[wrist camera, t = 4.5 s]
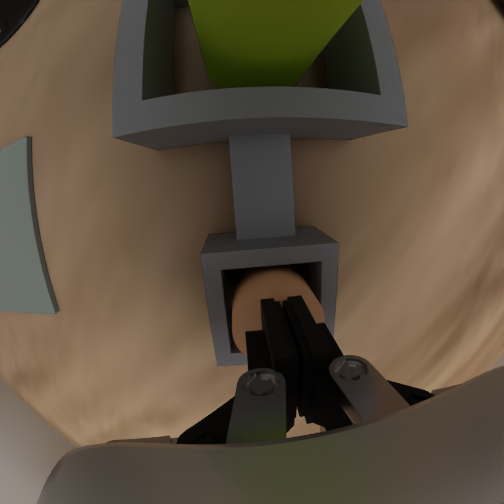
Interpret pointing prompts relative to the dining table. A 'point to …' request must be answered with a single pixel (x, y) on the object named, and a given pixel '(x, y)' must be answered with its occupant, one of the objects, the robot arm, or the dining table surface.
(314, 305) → the tan ball
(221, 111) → the holder
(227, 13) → the soap dispenser
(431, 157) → the dining table surface
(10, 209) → the mat
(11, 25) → the milk frother
